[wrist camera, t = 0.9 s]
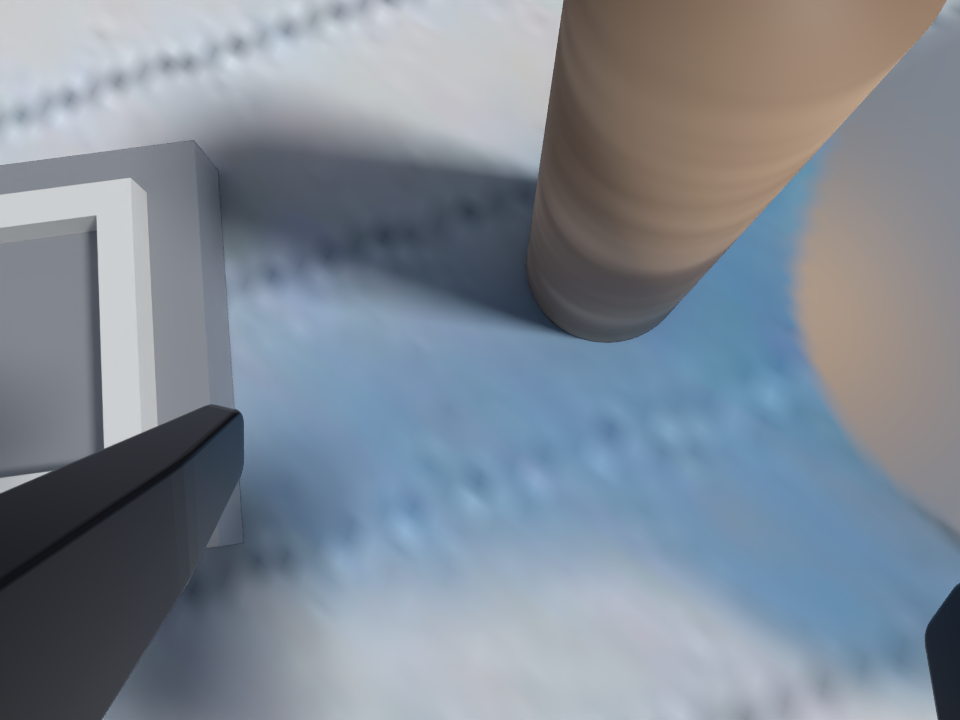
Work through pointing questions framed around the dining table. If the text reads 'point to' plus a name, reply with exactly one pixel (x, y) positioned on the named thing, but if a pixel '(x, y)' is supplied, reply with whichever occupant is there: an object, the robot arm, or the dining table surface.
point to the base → (110, 305)
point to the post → (686, 138)
